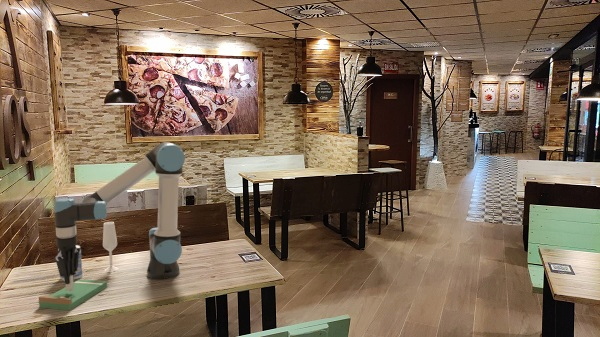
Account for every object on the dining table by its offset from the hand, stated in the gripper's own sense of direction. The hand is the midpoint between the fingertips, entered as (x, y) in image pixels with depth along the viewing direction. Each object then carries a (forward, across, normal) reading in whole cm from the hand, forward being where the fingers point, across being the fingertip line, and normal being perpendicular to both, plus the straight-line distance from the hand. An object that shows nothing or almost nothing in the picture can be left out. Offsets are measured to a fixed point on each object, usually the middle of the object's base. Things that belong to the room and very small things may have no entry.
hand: (69, 290), depth 183 cm
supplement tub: (+4, -21, -16) cm, 27 cm away
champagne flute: (+4, -34, -4) cm, 35 cm away
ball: (+2, +5, 0) cm, 6 cm away
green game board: (+4, -3, 0) cm, 5 cm away
